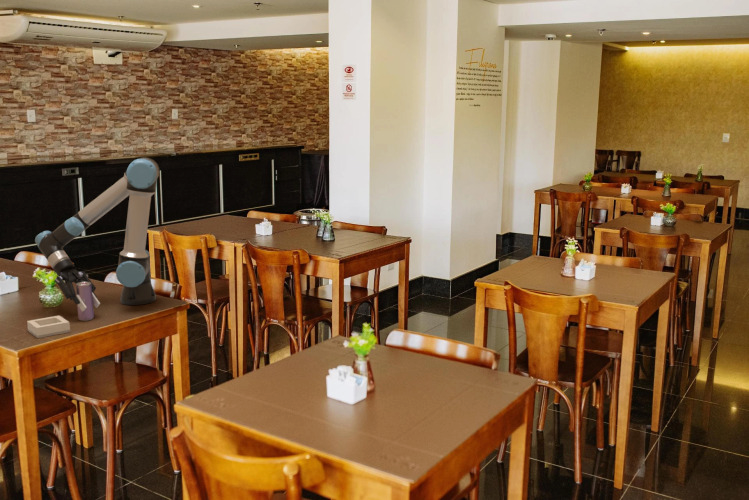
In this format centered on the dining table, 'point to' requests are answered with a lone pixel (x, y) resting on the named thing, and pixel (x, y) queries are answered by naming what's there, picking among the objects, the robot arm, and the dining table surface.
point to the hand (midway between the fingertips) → (91, 307)
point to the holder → (48, 326)
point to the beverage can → (85, 300)
